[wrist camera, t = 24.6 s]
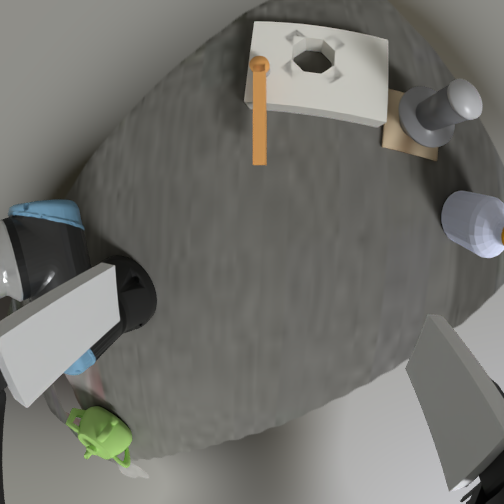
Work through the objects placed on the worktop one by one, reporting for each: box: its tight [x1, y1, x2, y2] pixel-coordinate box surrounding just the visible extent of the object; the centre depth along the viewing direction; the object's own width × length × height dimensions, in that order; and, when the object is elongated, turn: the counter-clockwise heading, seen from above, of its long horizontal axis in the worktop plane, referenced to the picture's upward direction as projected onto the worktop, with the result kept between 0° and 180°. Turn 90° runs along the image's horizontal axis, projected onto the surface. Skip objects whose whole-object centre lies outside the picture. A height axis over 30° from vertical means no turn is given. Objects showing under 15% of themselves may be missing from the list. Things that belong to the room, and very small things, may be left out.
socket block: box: [244, 21, 388, 127], centre depth 34 cm, size 20×14×6 cm
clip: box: [249, 56, 270, 165], centre depth 33 cm, size 15×3×1 cm, turn 0°
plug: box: [398, 79, 482, 148], centre depth 28 cm, size 9×9×17 cm
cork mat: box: [382, 88, 438, 161], centre depth 36 cm, size 10×10×1 cm
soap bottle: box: [441, 190, 504, 258], centre depth 27 cm, size 9×9×25 cm
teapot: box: [66, 406, 132, 468], centre depth 63 cm, size 19×20×14 cm
